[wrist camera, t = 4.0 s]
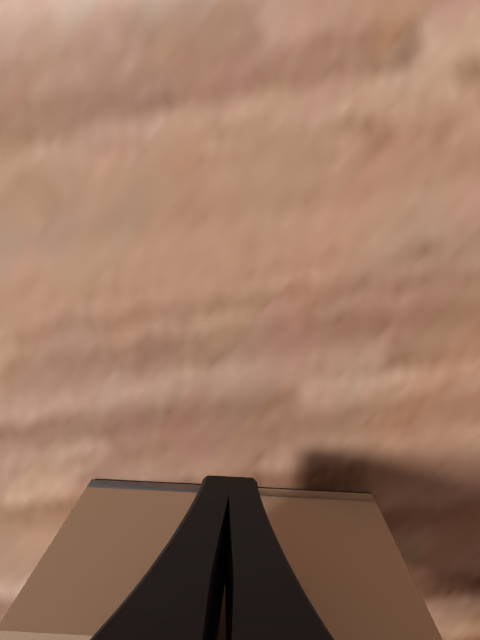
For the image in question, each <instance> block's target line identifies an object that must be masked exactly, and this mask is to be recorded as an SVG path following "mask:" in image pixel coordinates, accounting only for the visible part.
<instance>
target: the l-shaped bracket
mask: <svg viewBox="0 0 480 640" xmlns="http://www.w3.org/2000/svg"><path fill="white" fill-rule="evenodd" d="M200 486H201V485H191V484H171V483H152V482H133V481H113V480H94V479H92V480H91V481H90V483H89V484H88V486H87V488H86V489H85V491H84V492H83V494H82V495H81V497H80V499H79V500H78V502H77V503H76V505H75V506H74V508H73V510H72V511H71V513H70V514H69V516H68V517H67V519H66V521H65V522H64V524H63V525H62V527H61V528H60V530H59V532H58V533H57V535H56V536H55V538H54V539H53V541H52V543H51V544H50V546H49V547H48V549H47V550H46V552H45V554H44V555H43V557H42V558H41V560H40V561H39V563H38V565H37V566H36V568H35V569H34V571H33V572H32V574H31V575H30V577H29V579H28V580H27V582H26V583H25V585H24V586H23V588H22V590H21V591H20V593H19V594H18V596H17V597H16V599H15V601H14V602H13V604H12V605H11V607H10V608H9V610H8V612H7V613H6V615H5V616H4V618H3V619H2V621H1V623H0V640H90V639H91V638H92V637H93V635H94V634H95V633H96V632H97V631H98V630H99V629H100V628H101V627H102V625H103V624H104V623H105V622H106V621H107V620H108V619H109V618H110V616H111V615H112V614H113V613H114V612H115V611H116V610H117V609H118V607H119V606H120V605H121V604H122V603H123V601H124V600H125V599H126V598H127V597H128V595H129V594H130V593H131V592H132V590H133V589H134V588H135V587H136V585H137V584H138V583H139V582H140V580H141V579H142V578H143V576H144V575H145V574H146V573H147V571H148V570H149V569H150V567H151V566H152V564H153V563H154V562H155V560H156V559H157V557H158V556H159V554H160V553H161V552H162V550H163V549H164V547H165V546H166V545H167V543H168V542H169V540H170V539H171V537H172V536H173V534H174V532H175V531H176V529H177V528H178V526H179V524H180V523H181V521H182V520H183V518H184V516H185V515H186V513H187V511H188V510H189V508H190V506H191V504H192V502H193V501H194V499H195V497H196V495H197V493H198V491H199V488H200ZM258 490H259V494H260V497H261V500H262V503H263V506H264V509H265V511H266V514H267V517H268V519H269V522H270V524H271V526H272V529H273V531H274V533H275V535H276V537H277V540H278V542H279V544H280V546H281V548H282V550H283V553H284V555H285V557H286V559H287V561H288V563H289V564H290V566H291V568H292V570H293V572H294V574H295V576H296V578H297V580H298V581H299V583H300V585H301V587H302V589H303V590H304V592H305V594H306V595H307V597H308V599H309V601H310V602H311V604H312V606H313V607H314V609H315V610H316V612H317V614H318V615H319V617H320V619H321V620H322V622H323V623H324V625H325V626H326V628H327V629H328V631H329V632H330V634H331V635H332V637H333V639H334V640H442V638H441V636H440V634H439V632H438V629H437V627H436V625H435V623H434V621H433V619H432V617H431V615H430V613H429V611H428V609H427V607H426V605H425V602H424V600H423V598H422V596H421V594H420V592H419V590H418V588H417V586H416V584H415V582H414V580H413V577H412V575H411V573H410V571H409V569H408V567H407V565H406V563H405V561H404V559H403V557H402V555H401V553H400V550H399V548H398V546H397V544H396V542H395V540H394V538H393V536H392V534H391V532H390V530H389V528H388V525H387V523H386V521H385V519H384V517H383V515H382V513H381V511H380V509H379V507H378V505H377V503H376V501H375V498H374V496H373V494H365V493H346V492H326V491H307V490H288V489H268V488H258ZM217 640H226V608H225V586H224V593H223V600H222V607H221V614H220V621H219V627H218V634H217Z"/></svg>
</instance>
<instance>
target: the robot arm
mask: <svg viewBox="0 0 480 640" xmlns="http://www.w3.org/2000/svg"><path fill="white" fill-rule="evenodd" d="M224 586H225V608H226V640H334V639H333V637H332V635H331V634H330V632H329V631H328V629H327V628H326V626H325V625H324V623H323V622H322V620H321V619H320V617H319V615H318V614H317V612H316V610H315V609H314V607H313V606H312V604H311V602H310V601H309V599H308V597H307V595H306V594H305V592H304V590H303V589H302V587H301V585H300V583H299V581H298V580H297V578H296V576H295V574H294V572H293V570H292V568H291V566H290V564H289V563H288V561H287V559H286V557H285V555H284V553H283V550H282V548H281V546H280V544H279V542H278V540H277V537H276V535H275V533H274V531H273V529H272V526H271V524H270V522H269V519H268V517H267V514H266V511H265V509H264V506H263V503H262V500H261V497H260V494H259V490H258V486H257V482H256V481H255V479H254V478H245V477H226V476H207V477H205V478H204V479H203V481H202V484H201V486H200V488H199V491H198V493H197V495H196V497H195V499H194V501H193V502H192V504H191V506H190V508H189V510H188V511H187V513H186V515H185V516H184V518H183V520H182V521H181V523H180V524H179V526H178V528H177V529H176V531H175V532H174V534H173V536H172V537H171V539H170V540H169V542H168V543H167V545H166V546H165V547H164V549H163V550H162V552H161V553H160V554H159V556H158V557H157V559H156V560H155V562H154V563H153V564H152V566H151V567H150V569H149V570H148V571H147V573H146V574H145V575H144V576H143V578H142V579H141V580H140V582H139V583H138V584H137V585H136V587H135V588H134V589H133V590H132V592H131V593H130V594H129V595H128V597H127V598H126V599H125V600H124V601H123V603H122V604H121V605H120V606H119V607H118V609H117V610H116V611H115V612H114V613H113V614H112V615H111V616H110V618H109V619H108V620H107V621H106V622H105V623H104V624H103V625H102V627H101V628H100V629H99V630H98V631H97V632H96V633H95V634H94V635H93V637H92V638H91V639H90V640H217V634H218V627H219V621H220V614H221V607H222V600H223V593H224Z"/></svg>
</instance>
